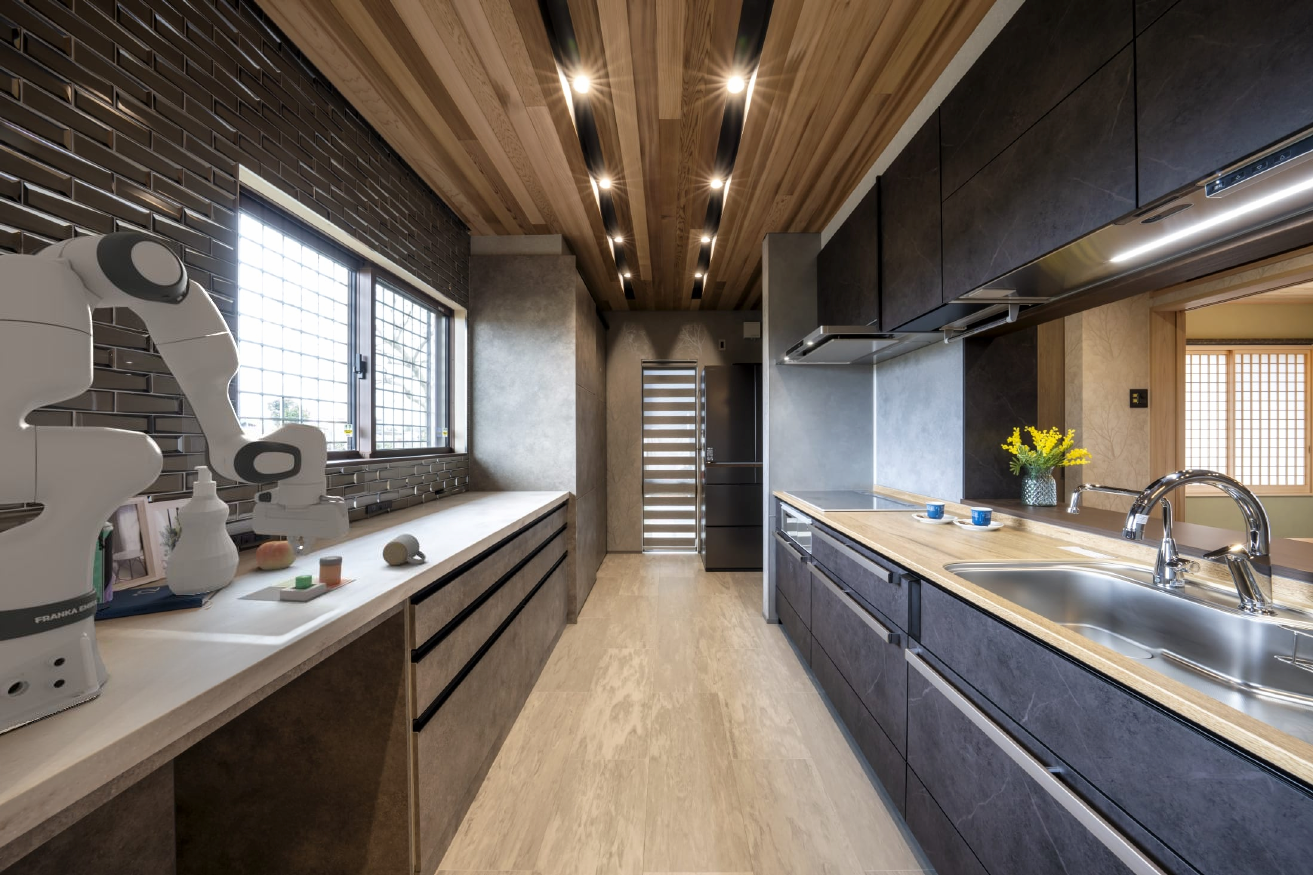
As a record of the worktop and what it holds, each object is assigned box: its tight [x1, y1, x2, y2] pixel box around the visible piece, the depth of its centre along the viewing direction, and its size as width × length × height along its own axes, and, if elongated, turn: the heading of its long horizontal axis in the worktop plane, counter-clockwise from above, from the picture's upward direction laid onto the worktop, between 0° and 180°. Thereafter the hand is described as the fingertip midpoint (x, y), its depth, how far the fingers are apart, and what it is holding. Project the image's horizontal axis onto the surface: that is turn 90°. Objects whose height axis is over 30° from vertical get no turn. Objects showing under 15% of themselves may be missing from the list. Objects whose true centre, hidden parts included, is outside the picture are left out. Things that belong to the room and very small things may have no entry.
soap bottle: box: [164, 465, 240, 596], centre depth 113 cm, size 17×12×29 cm
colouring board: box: [237, 576, 356, 604], centre depth 114 cm, size 16×16×3 cm
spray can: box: [93, 521, 114, 604], centre depth 101 cm, size 6×6×20 cm
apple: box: [255, 540, 297, 571], centre depth 131 cm, size 9×9×8 cm
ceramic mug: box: [382, 533, 427, 566], centre depth 141 cm, size 11×8×8 cm
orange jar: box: [318, 555, 343, 586], centre depth 118 cm, size 5×5×6 cm
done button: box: [295, 574, 313, 589], centre depth 109 cm, size 3×3×2 cm
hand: (300, 555), depth 110 cm, fingers closed
